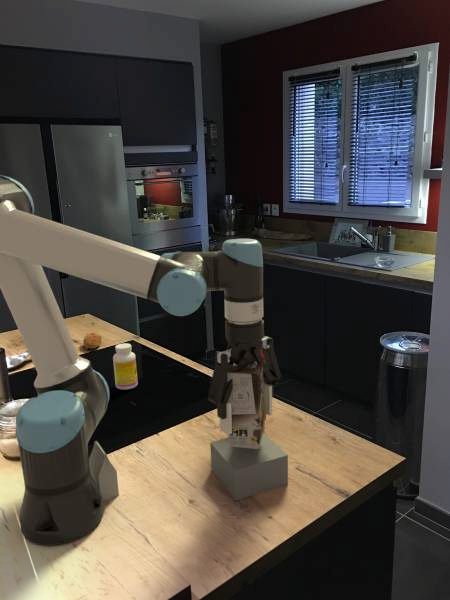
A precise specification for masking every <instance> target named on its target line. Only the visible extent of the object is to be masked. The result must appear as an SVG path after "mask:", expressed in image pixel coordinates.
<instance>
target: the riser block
mask: <svg viewBox="0 0 450 600" xmlns="http://www.w3.org/2000/svg"><path fill="white" fill-rule="evenodd" d="M209 443H210V461H211V462H210V463H211V464H210V465H211V466H210V467H211V468H210V469H211V471H212V473H213V474H214V475H215V476H216V478H217V479H218V480H219V481H220V482H221V484H222V486H223V487H224V488H225V489H226V490H227V492H228V493H229V494H230V495H231V497H232V498H233V499H234V501H238V500H241V499H245V498H248V497H250V496H255V495H257V494H260V493H263V492H266V491H270V490H272V489H276V488H279V487H280V488H281V487H283V486H285V485H288V484H289V455H288V454H287V453H286V452H285V451H284V450H283V449H282V448H281V447H280V446H279V445H277V444H276V443H275V442H274V440H272V439H271V438H270V437H269V436H268V435H267V434H265V433H264V432H263V436H262V439H261V443H260V447H259V449H252V448H241V447H230V446H229V436H228V437H225V438H220V439H218V440H217V439H216V440H213V441H211V442H209Z"/></svg>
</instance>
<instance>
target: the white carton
mask: <svg viewBox="0 0 450 600" xmlns="http://www.w3.org/2000/svg"><path fill="white" fill-rule="evenodd" d="M89 466H90V474H91V476H92V478H93V479H94V481H95V483H96V485H97V487H98V489H99V491H100V493H101V495H102V498H103V502H104V501H106V500H110V499H113V498H115V497H118V496H120V492H119V491H120V490H119V484H118V483H119V482H118V472H117V470H116V468H115V466H114V464H112V462H111V461H110V460H109V457H108V455H107V453H106V452H105V451H104V449H103V447H102V446H101V445H100V443H99V442H98V441H94V443H93V448H92V450H91V453H90V455H89Z"/></svg>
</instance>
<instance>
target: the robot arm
mask: <svg viewBox="0 0 450 600" xmlns="http://www.w3.org/2000/svg"><path fill="white" fill-rule="evenodd" d="M34 213H35V204H34V200H33V198H32V195H31V194H30V191H28V189H27V188H26V187H25V186H24V185H23V184H22V183H21V182H20V181H18V180H16V179H14V178H12V177H9V176H6V175H3V174H0V290H1V293H2V295H3V298H4V300H5V302H6V304H7V307H8V309H9V311H10V313H11V315H12V318H13V320H14V322H15V324H16V327H17V329H18V332H19V333H20V337H21V338H22V341H23V343H24V345H25V348H26V350H27V352H28V354H29V356H30V359H31V361H32V364H33V366H34V368H35V370H36V373H37V375H36V378H35V380H34V381H33V386H34V388H35V390H36V392H37V396H36V397H31V398H30V399H28V400H27V401H25V402H24V403H23V404H22V405H21V406H20V408H19V409H18V410H17V413H16V416H15V438H16V440H17V445H18V452H19V457H20V465H21V469H22V477H23V482H24V494H23V498H22V502H21V508H20V511H19V512H20V513H19V525H20V527H19V528H20V532H21V535H23V537H24V538H25V539H26V540H28V541H29V542H32V543H35V544H37V545H44V546H46V545H47V546H53V545H61V544H66V543H69V542H73V541H74V540H77V539H79V538H81V537H83V536H85V535H87V534H89V533H90V532H91V531H92V530H94V529H95V528H96V527H97V526H98V524H99V523H100V522H101V521H102V518H104V513H105V506H104V501H103V498H102V495H101V493H100V491H99V489H98V487H97V485H96V483H95V481H94V479H93V478H92V476H91V474H90V466H89V458H90V456H89V449H88V446H89V441H90V439H91V437H92V436H93V434H94V432H95V431H96V429H97V426H98V425H99V423H100V422H101V420H102V419H103V418H104V416H105V413H106V411H107V409H108V404H109V401H110V389H109V385H108V382H107V381H106V379H105V378H104V376H103V375H102V374H101V373H100V372H98V371H96V370H94V369H93V367H92V364H91V361H90V360H88V359H86V358H84V357H82V356H80V355H79V353H78V350H77V348H76V345H75V343H74V341H73V338H72V336H71V333H70V331H69V329H68V327H67V323H66V322H65V319H64V317H63V315H62V312H61V310H60V307H59V305H58V302H57V300H56V297H55V294H54V293H53V290H52V288H51V286H50V283H49V281H48V278H47V276H46V274H45V271H44V268H45V267H46V268H48V269H52V270H53V271H54V270H55V271H56V272H57V271H58V272H61V273H63V274H64V273H65V274H67V275H70V276H73V277H77V278H79V279H83V280H87V281H89V282H92V283H95V284H99V285H102V286H105V287H109V288H110V289H113V290H114V289H115V290H118V291H121V292H124V293H128V294H129V295H134V296H137V297H140V298H142V299H143V298H144V299H147V300H150V301H152V302H156V303H158V304H159V305H160V306H161V308H162V309H163V310H164V311H165V312H167V313H169V314H170V315H173V316H176V317H184V316H185V317H186V316H188V315H191V314H192V313H193V314H194V312H196V311H197V310H198V309H199V308H200V306H201V305H202V303H203V301H204V300H205V299H206V297H207V292H212V291H214V292H217V291H223V292H224V298H223V299H224V301H223V302H224V318H225V319H226V320H225V323H224V325H225V326H224V327H225V330H224V331H225V338H226V341H227V343H228V344H227V348H226V350H224V351H218V350H217V351H216V352H215V353H214V363H215V364H214V366H213V371H212V372H213V373H212V377H211V380H210V385H209V386H210V387H209V391H208V396H207V400H208V401H209V402H210V403H213V404H215V405H216V410H217V411H216V412H217V418H218V419H219V428H220V429H219V430H220V431H222V432H224V433H226V434H227V435H228V436H229V435H230V434H232V414H231V403H230V402H228V400H229V397H230V395H231V392H232V390H233V378H232V379H231V380H230V381H228V382H227V371H228V370H231V371H234V372H237V371H241V370H243V367H245V366H247V365H248V364H253V363H255V362H258V363H262V362H263V373H264V407H265V414H266V415H268V416H271V415H273V398H274V393H275V391H274V387H275V386H277V385H278V383H279V382H278V380H280V379H281V378H282V373H281V370H280V367H279V366H280V365H279V363H278V360H277V356H276V353H275V352H276V351H275V350H274V338H272V337H269V336H266V335H265V330H264V327H265V321H264V319H262V318H264V261H263V260H264V258H263V246H262V244H261V242H260V241H259V240H257V239H252V238H234V239H233V238H231V239H227V240H225V241H224V242H223V243H222V248H221V250H217V251H184V252H183V251H175V252H168V253H167V252H166V253H163V254H161V255H158V254H155V253H152V252H149V251H147V250H142V249H140V248H137V247H133V246H130V245H127V244H125V243H121V242H118V241H115V240H113V239H109V238H106V237H103V236H100V235H96V234H94V233H90V232H88V231H84V230H81V229H78V228H76V227H72V226H69V225H66V224H62V223H60V222H57V221H54V220H51V219H47V218H44V217H41V216H39V215H35V214H34ZM43 267H44V268H43ZM261 349H262V353H263V356H264V358H263V357H262V355H261V353H260V350H261ZM264 360H265V362H264ZM233 363H235V364H236V365H237V366H234V365H233Z"/></svg>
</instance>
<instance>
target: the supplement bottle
mask: <svg viewBox="0 0 450 600" xmlns="http://www.w3.org/2000/svg"><path fill="white" fill-rule="evenodd" d="M114 349H115V352H116V353H114V354H113V356H112V361H113V370H114V371H113V372H114V383H115V388H117V389H119V390H122V391H123V390H125V391H126V390H131V389H134V388H136V387H137V386H138V384H139V382H138V381H139V380H138V372H137V361H136V360H137V359H136V354H135V352H132V345H131V344H130V343H125V342H124V343H119V344H117V345H115V348H114Z"/></svg>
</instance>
